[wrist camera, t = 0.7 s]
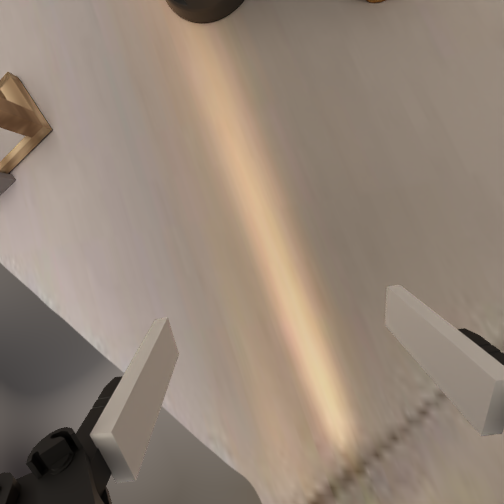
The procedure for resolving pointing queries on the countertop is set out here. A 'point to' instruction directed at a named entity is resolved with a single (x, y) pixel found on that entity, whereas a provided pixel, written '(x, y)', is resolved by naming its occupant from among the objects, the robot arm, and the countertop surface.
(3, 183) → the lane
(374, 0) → the burger
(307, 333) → the countertop surface
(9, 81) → the wooden corner frame
